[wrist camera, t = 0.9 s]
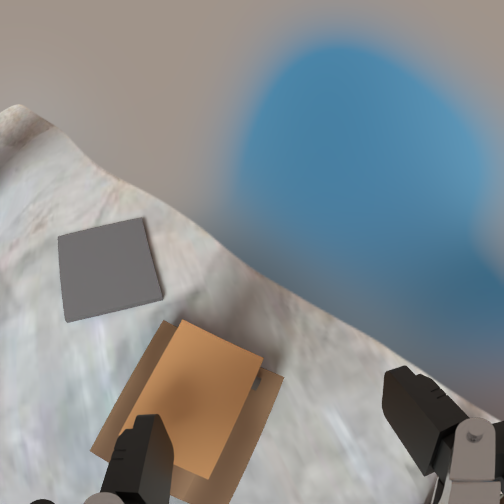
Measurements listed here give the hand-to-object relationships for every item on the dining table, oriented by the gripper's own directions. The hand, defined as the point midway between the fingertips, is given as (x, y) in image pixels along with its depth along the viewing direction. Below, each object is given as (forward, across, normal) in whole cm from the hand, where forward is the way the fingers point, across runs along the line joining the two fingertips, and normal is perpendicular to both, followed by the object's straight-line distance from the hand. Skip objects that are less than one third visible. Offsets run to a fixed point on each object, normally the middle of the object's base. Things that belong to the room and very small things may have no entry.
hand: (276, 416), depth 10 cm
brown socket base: (+15, +8, +13) cm, 21 cm away
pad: (+26, +15, -1) cm, 30 cm away
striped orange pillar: (+15, +8, +13) cm, 21 cm away
